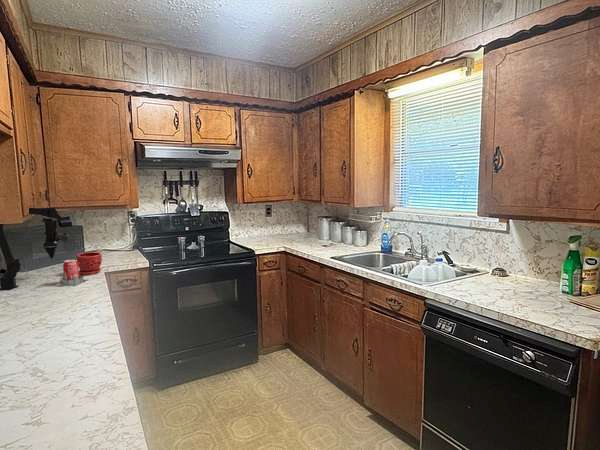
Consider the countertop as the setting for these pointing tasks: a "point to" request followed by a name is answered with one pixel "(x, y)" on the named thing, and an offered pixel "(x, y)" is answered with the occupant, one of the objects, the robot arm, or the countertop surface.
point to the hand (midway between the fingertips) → (52, 256)
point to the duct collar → (71, 281)
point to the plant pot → (89, 263)
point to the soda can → (70, 270)
